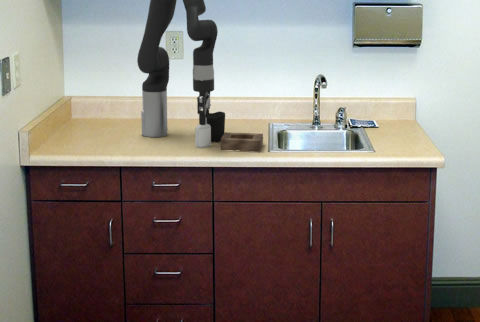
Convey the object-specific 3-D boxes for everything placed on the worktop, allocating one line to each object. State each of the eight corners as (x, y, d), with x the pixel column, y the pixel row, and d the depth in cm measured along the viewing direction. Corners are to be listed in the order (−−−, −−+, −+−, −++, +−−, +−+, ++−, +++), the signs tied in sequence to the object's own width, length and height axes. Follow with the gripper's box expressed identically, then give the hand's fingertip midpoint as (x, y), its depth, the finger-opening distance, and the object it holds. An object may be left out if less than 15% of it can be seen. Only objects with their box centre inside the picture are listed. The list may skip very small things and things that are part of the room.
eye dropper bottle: (211, 148, 278) (211, 115, 275) (195, 148, 278) (195, 115, 274) (210, 145, 282) (210, 112, 279) (195, 145, 282) (194, 112, 279)
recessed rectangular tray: (220, 150, 275) (220, 139, 274) (224, 142, 285) (224, 132, 284) (259, 152, 273) (260, 141, 272) (262, 144, 284) (262, 133, 283)
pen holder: (210, 135, 297) (210, 109, 294) (230, 139, 291) (230, 113, 289) (194, 140, 289) (194, 113, 286) (215, 144, 284) (215, 117, 281)
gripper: (196, 74, 281) (197, 118, 285) (189, 80, 267) (190, 126, 271) (216, 74, 280) (217, 118, 284) (211, 80, 266) (211, 126, 270)
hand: (204, 122), depth 278 cm, fingers open, 8 cm apart
